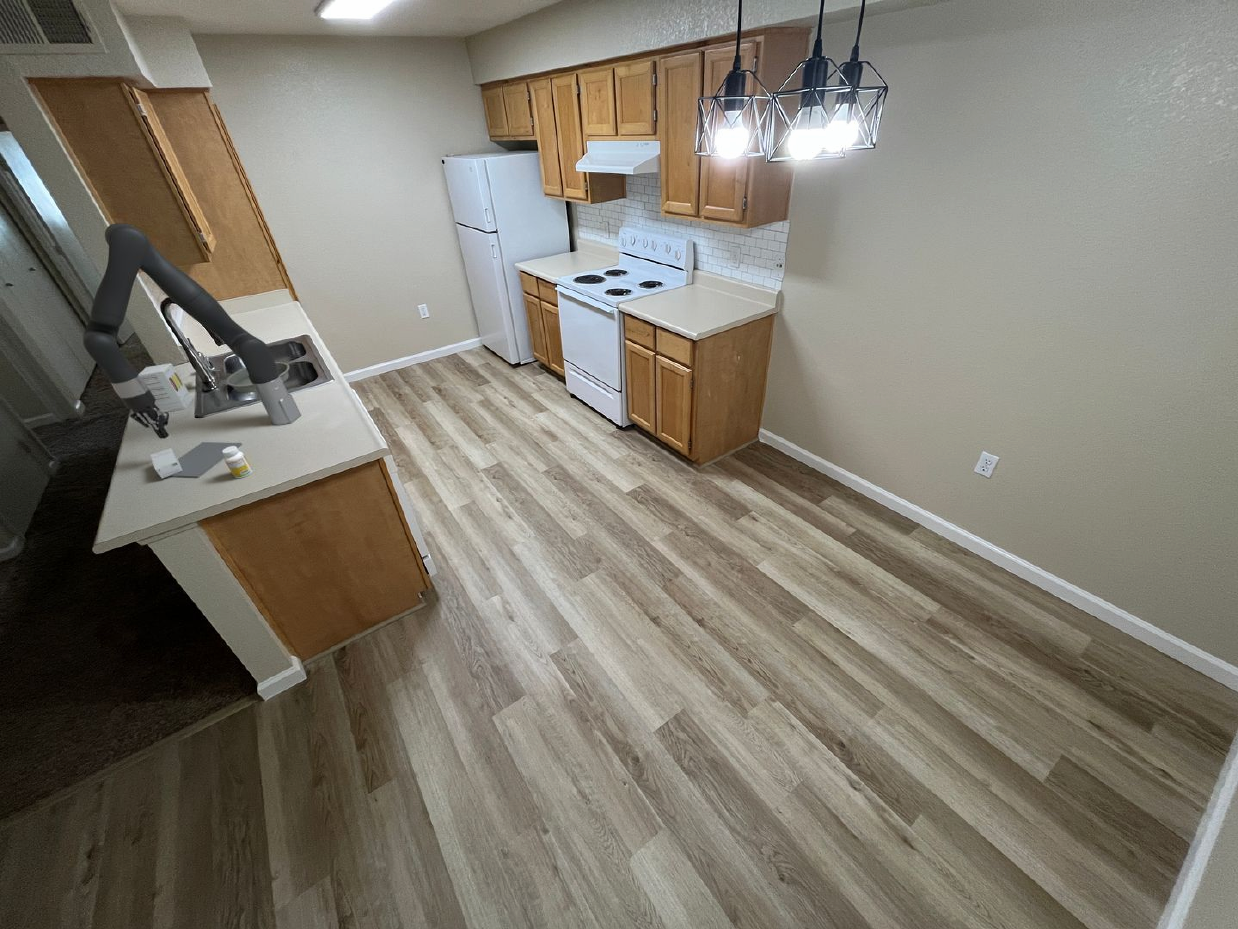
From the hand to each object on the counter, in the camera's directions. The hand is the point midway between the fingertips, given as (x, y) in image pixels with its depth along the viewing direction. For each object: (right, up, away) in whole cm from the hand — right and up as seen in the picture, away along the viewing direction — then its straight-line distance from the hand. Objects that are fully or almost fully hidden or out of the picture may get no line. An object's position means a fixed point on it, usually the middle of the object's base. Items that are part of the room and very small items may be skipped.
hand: (164, 437), depth 172 cm
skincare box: (-2, -6, +2) cm, 7 cm away
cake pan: (-6, +28, +56) cm, 62 cm away
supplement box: (-30, +15, +40) cm, 52 cm away
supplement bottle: (+30, -12, -5) cm, 33 cm away
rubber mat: (+9, -8, +4) cm, 12 cm away
